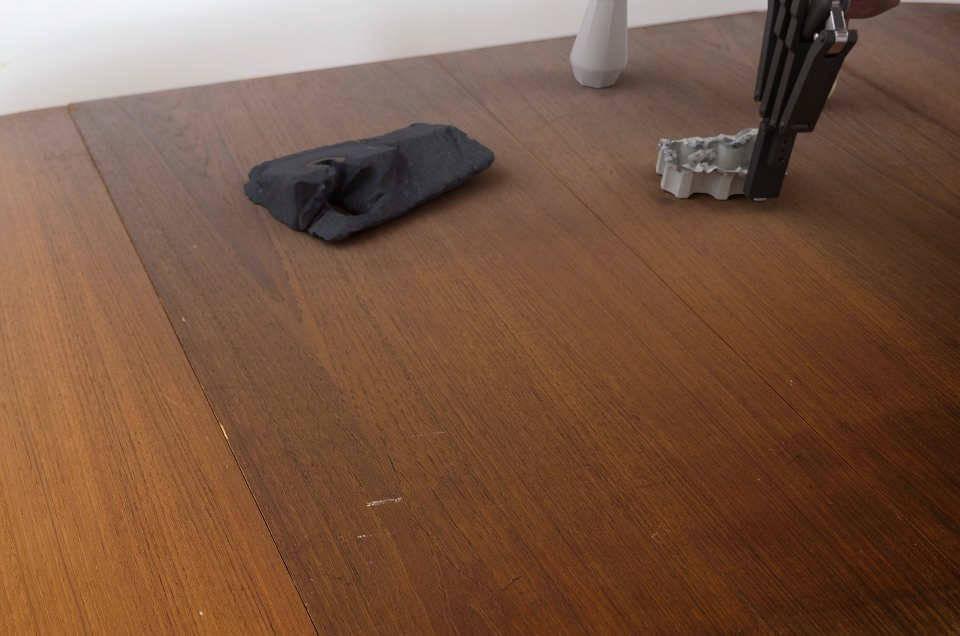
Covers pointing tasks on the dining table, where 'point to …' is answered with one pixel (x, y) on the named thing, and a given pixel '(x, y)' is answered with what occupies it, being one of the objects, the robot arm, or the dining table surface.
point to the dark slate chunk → (366, 178)
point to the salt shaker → (601, 44)
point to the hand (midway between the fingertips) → (760, 194)
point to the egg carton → (706, 164)
